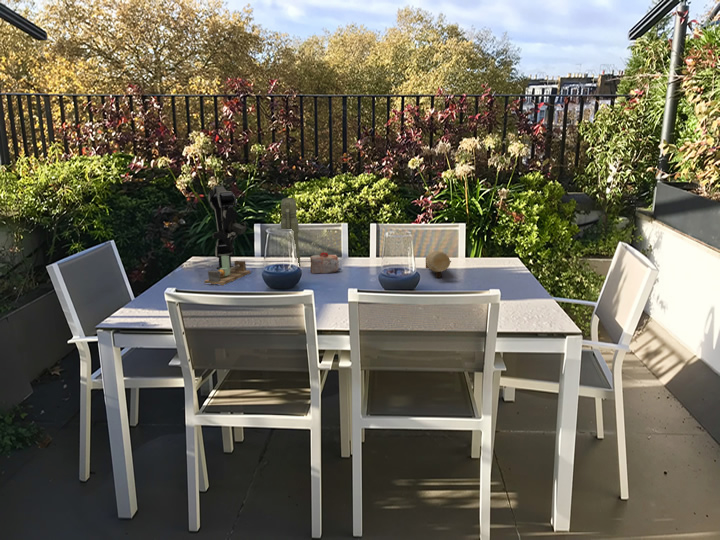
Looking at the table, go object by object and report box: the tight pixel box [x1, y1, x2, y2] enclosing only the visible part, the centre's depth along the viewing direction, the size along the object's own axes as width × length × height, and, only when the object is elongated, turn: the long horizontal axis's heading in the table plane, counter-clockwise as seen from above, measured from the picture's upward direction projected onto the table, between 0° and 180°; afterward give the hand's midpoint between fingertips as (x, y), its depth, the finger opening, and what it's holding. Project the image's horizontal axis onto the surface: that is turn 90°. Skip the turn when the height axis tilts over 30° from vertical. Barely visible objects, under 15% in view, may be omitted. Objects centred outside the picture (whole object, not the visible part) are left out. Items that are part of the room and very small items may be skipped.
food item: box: [309, 251, 340, 275], centre depth 295 cm, size 14×8×10 cm, turn 100°
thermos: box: [280, 197, 301, 267], centre depth 306 cm, size 9×12×35 cm
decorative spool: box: [425, 250, 452, 278], centre depth 284 cm, size 10×12×30 cm
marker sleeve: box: [218, 255, 230, 276], centre depth 284 cm, size 4×3×9 cm
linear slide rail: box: [204, 260, 251, 286], centre depth 287 cm, size 24×10×6 cm, turn 159°
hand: (230, 249), depth 292 cm, fingers closed
